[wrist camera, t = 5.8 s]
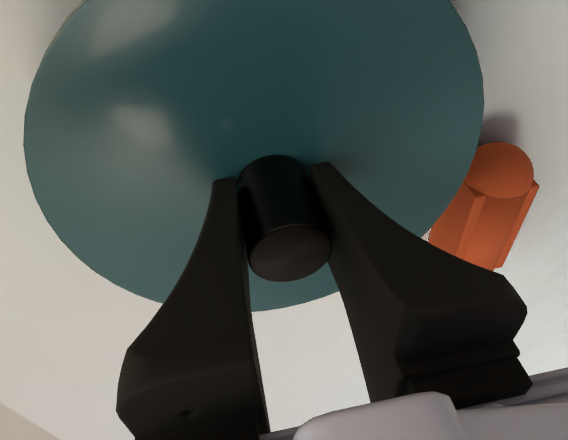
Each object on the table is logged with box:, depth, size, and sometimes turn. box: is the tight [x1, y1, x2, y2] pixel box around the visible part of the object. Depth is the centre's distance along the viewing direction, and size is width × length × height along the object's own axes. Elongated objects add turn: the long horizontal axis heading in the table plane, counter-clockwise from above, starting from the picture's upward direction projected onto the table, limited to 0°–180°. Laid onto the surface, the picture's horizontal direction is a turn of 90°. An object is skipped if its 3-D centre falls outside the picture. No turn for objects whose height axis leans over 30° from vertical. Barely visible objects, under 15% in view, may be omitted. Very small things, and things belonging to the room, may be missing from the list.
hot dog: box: [429, 142, 539, 271], centre depth 22 cm, size 9×3×3 cm, turn 3°
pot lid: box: [23, 0, 484, 312], centre depth 14 cm, size 14×14×4 cm
